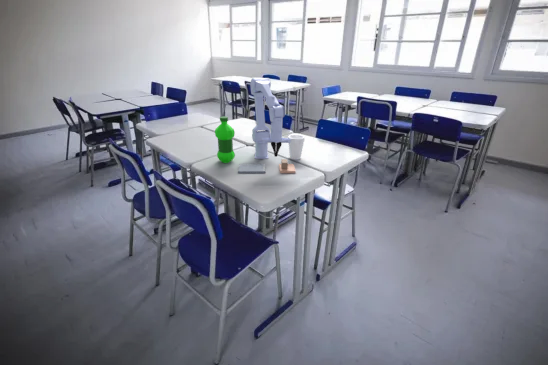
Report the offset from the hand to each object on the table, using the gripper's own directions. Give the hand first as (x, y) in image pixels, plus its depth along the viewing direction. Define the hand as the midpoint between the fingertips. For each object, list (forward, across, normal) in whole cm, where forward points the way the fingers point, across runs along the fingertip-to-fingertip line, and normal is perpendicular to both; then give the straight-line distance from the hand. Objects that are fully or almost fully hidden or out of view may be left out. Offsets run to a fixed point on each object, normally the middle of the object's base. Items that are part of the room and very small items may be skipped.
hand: (275, 155), depth 147 cm
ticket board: (+8, -12, 0) cm, 15 cm away
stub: (+8, +6, 0) cm, 10 cm away
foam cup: (+8, +12, +18) cm, 23 cm away
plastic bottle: (+8, -27, +12) cm, 31 cm away
